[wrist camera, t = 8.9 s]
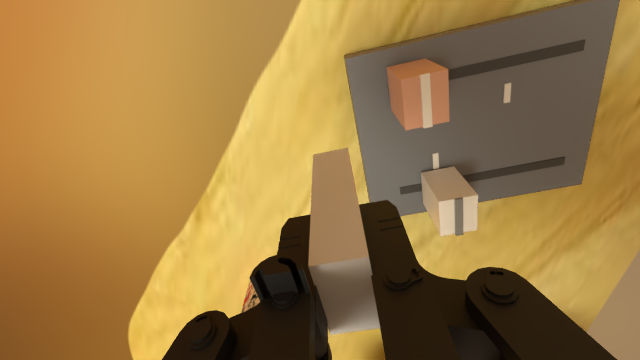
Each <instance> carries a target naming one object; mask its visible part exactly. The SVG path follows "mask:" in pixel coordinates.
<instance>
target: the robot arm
mask: <svg viewBox="0 0 640 360" xmlns="http://www.w3.org/2000/svg"><path fill="white" fill-rule="evenodd" d="M278 249H279V250H278V252H277V255H275V256H272V257H269V258H267V259H266V260H264V261H262V262H261V263H260V264H259V265H258V266H257V267H256V268H255V269H254V270H253V272H252V274H251V276H250V280H251V283H252V285H253V287H254V289H255V291H256V293H257V296H258V298H259V300H260V303H258V304H257V305H256V306H254V307H252V308H251V309H249V310H247V311H245V312H242V313H240V314H238V315H236V316H233V317H231V318H228V317H227V316H226V315H225V313H223V312H220V311H217V310H215V311H207V312H205V313H202V314H200V315H198V316H196V317H195V318H193V319H192V320H191V321H189V322H188V323H187V324H186V325H185V327H184V328H183V329H182V330H181V331H180V333H179V334H178V336H177V337H176V339H175V340H174V342H173V343H172V345H171V347H170V348H169V350H168V351H167V353H166V354H165V356H164V357H163V359H162V360H332V354H331V350H330V346H329V343H328V329H329V332H330V335H333V334H340V333H348V332H355V331H362V330H369V329H377V328H380V329H381V335H382V340H383V345H384V351H385V356H386V360H617V359H616V358H614V357H613V356H612V355H611V354H610V353H609V352H608V351H607V350H605V349H604V348H603V347H602V346H601V345H600V344H599V343H597V342H596V341H595V340H594V339H593V338H592V337H591V336H589V335H588V334H587V333H586V332H585V331H584V330H583V329H582V328H580V327H579V326H578V325H577V324H576V323H575V322H574V321H572V320H571V319H570V318H569V317H568V316H567V315H566V314H564V313H563V312H562V311H561V310H560V309H559V308H558V307H557V306H555V305H554V304H553V303H552V302H551V301H550V300H549V299H547V298H546V297H545V296H544V295H543V294H542V293H541V292H539V291H538V290H537V289H536V288H535V287H534V286H533V285H532V284H530V283H529V282H528V281H527V280H526V279H524V278H523V277H521V276H520V275H518V274H517V273H515V272H512V271H509V270H506V269H503V268H496V267H486V268H481V269H477V270H476V271H474V272H473V273H471V274H470V275H469V276H468V278H467V280H456V279H448V278H443V277H438V276H436V275H433V274H431V273H429V272H428V271H426V270H425V269H424V268H422V267H421V266H420V265H419V263H418V261H417V259H416V257H415V254H414V252H413V249H412V246H411V244H410V241H409V238H408V236H407V233H406V230H405V228H404V225H403V223H402V220H401V218H400V215H399V212H398V209H397V207H396V206H395V205H393V204H392V203H391V202H390V201H388V200H382V201H377V202H371V203H366V204H360V205H359V203H358V198H357V193H356V188H355V183H354V177H353V172H352V167H351V162H350V157H349V152H348V148H344V149H339V150H334V151H329V152H324V153H319V154H314V155H313V173H312V195H311V215H305V216H300V217H294V218H289V219H288V220H287V222H286V223H285V225H284V226H283V227H282V229H281V235H280V241H279V247H278Z"/></svg>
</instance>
